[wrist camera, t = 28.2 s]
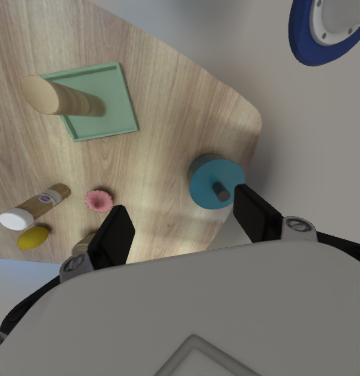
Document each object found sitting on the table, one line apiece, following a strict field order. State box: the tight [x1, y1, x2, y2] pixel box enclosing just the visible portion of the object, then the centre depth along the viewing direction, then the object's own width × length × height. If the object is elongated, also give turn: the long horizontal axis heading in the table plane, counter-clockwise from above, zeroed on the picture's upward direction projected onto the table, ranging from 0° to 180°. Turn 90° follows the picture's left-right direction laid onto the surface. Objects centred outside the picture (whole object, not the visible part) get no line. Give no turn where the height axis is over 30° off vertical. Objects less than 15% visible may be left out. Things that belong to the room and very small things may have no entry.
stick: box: [21, 75, 106, 117], centre depth 22 cm, size 4×4×14 cm
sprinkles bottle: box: [0, 184, 70, 230], centre depth 31 cm, size 5×5×13 cm
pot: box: [188, 153, 226, 186], centre depth 35 cm, size 13×13×8 cm
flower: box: [83, 190, 114, 214], centre depth 37 cm, size 8×8×6 cm
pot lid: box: [189, 159, 245, 209], centre depth 30 cm, size 14×14×6 cm
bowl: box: [71, 233, 96, 255], centre depth 43 cm, size 10×10×7 cm
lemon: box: [17, 227, 48, 250], centre depth 40 cm, size 6×6×8 cm
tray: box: [39, 61, 139, 142], centre depth 28 cm, size 15×12×2 cm
